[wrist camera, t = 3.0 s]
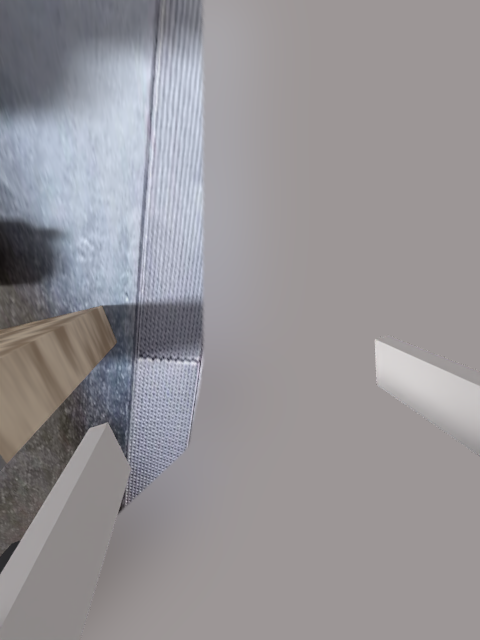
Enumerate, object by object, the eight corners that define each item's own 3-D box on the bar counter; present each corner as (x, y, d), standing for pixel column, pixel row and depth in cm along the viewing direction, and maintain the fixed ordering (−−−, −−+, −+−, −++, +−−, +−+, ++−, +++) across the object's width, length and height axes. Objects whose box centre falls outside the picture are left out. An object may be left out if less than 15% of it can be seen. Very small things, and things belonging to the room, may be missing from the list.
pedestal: (23, 366, 44) (-284, 561, 16) (1, 329, 42) (-405, 480, 13) (117, 342, 46) (-3, 474, 18) (102, 305, 44) (-64, 391, 16)
